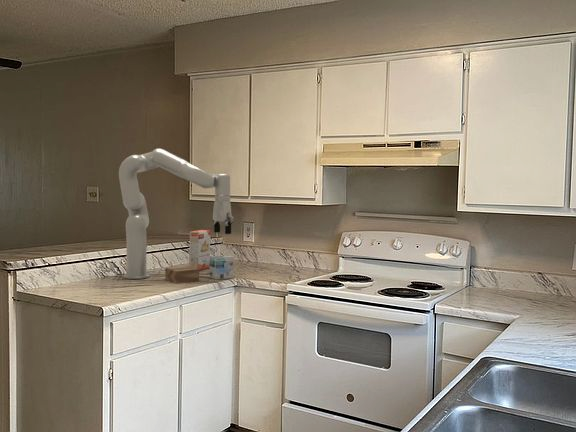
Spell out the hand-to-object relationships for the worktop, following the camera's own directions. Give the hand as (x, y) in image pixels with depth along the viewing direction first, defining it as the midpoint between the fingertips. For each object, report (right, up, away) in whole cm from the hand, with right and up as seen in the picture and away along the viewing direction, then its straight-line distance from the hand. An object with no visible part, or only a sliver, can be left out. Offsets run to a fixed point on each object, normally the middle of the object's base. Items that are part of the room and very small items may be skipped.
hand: (222, 233), depth 297 cm
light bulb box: (-1, -23, +1) cm, 23 cm away
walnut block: (-19, -23, -9) cm, 31 cm away
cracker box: (-15, -21, +28) cm, 38 cm away
